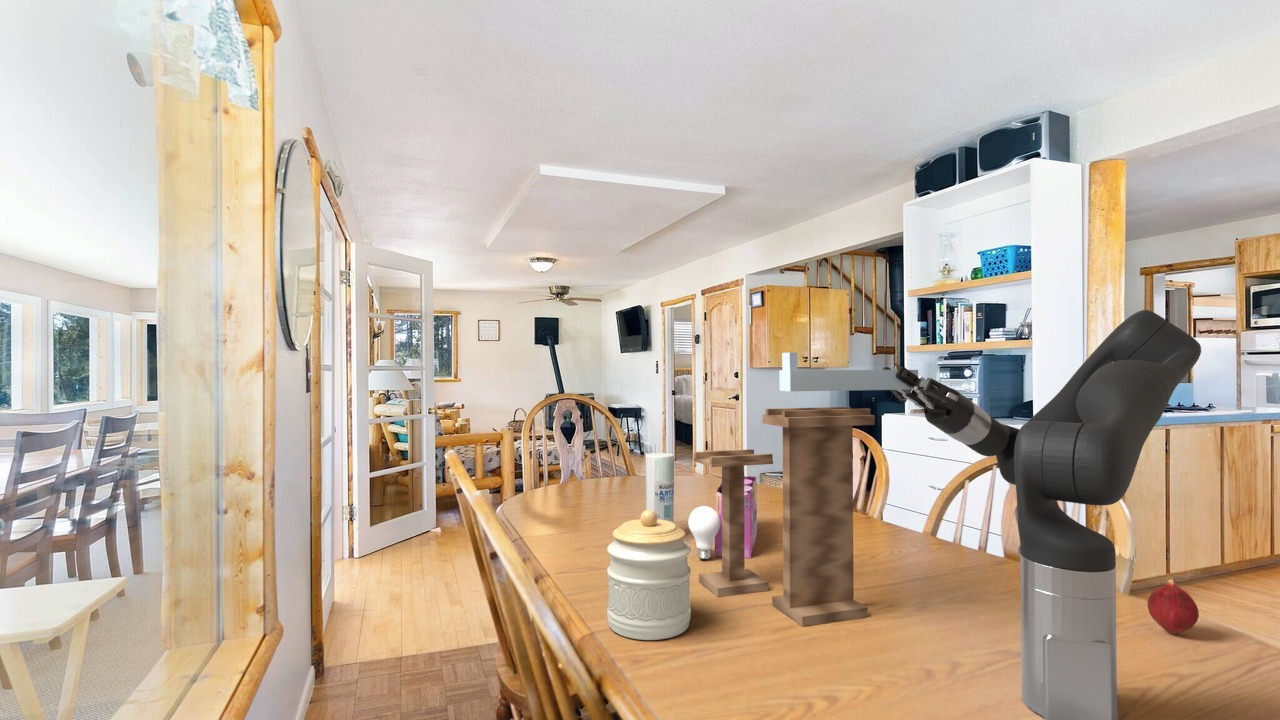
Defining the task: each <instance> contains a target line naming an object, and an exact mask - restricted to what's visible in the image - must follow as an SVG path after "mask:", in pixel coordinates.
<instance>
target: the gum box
mask: <svg viewBox="0 0 1280 720" xmlns="http://www.w3.org/2000/svg"><path fill="white" fill-rule="evenodd" d="M714 496H715V497H714V499H715V503H714V508H715V509H714V510H715V511H716V512H717V513H718V515H719V518H720V528H719V531H718V533H717V534H716V536H715V538H714V556H717V557H722V482H720V485H718V487H717V489H716V490H715V495H714ZM757 496H758V495H757V476H750V475H747V476H746V475H744V559H751V558H752V553H753V550H754V547H755V543H756V539H757V533H758V517H757V515H758V511H757V509H758V508H757V507H758V505H757V502H758V501H757V500H758V499H757Z"/></svg>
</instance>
